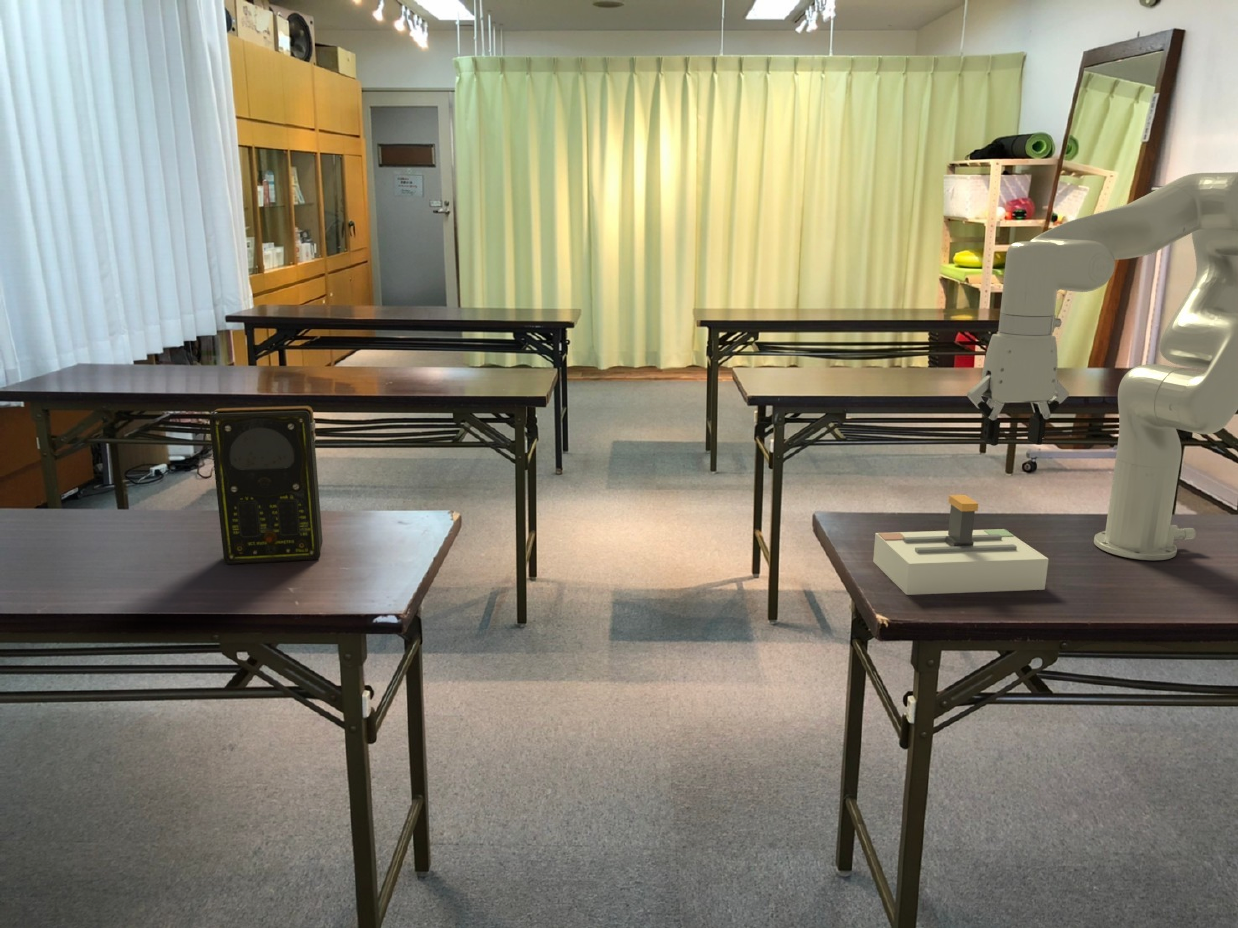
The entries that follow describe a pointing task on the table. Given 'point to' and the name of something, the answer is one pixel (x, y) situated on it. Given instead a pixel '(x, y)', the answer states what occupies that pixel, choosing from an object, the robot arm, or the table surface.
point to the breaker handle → (961, 520)
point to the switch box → (959, 562)
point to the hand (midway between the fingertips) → (1012, 442)
